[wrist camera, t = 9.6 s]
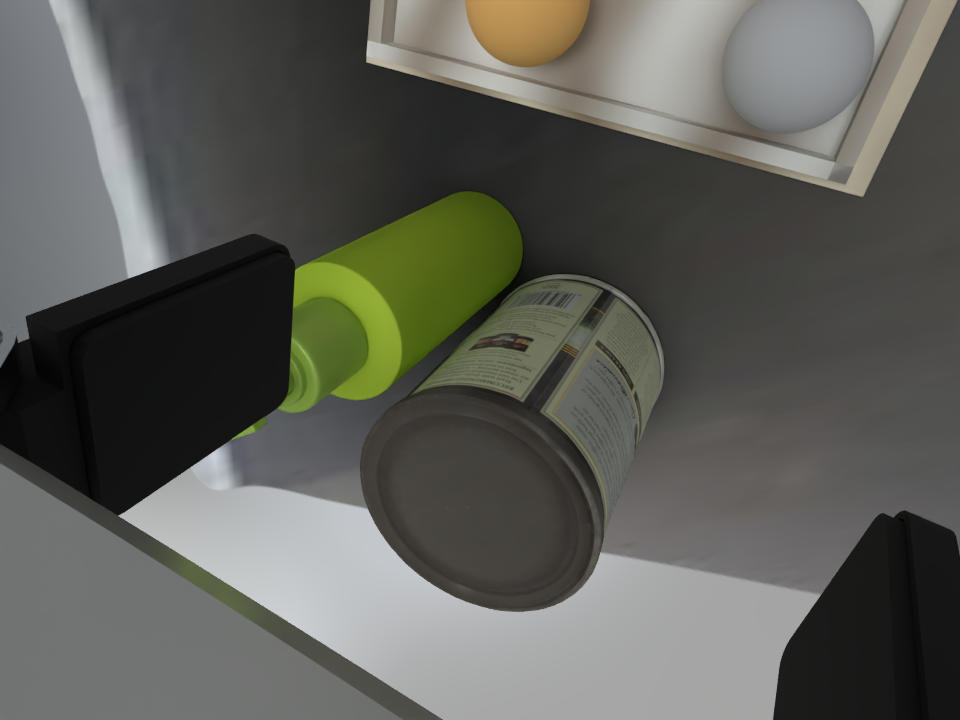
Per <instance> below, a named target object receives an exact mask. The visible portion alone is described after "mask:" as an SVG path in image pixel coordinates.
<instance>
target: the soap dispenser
mask: <svg viewBox="0 0 960 720" xmlns="http://www.w3.org/2000/svg"><path fill="white" fill-rule="evenodd" d="M522 257H523V243H522V237H521V233H520V230H519V228H518V225H517V223H516V221H515V220H514V218H513V217H512V215H511V214H510V212H509V211H508V210H507V209H506V208H505V207H504V206H503V205H502V204H501V203H499V202H498V201H497V200H495V199H493V198H492V197H490V196H488V195H485V194H482V193H478V192H472V191H465V192H458V193H455V194H452V195H450V196H448V197H446V198H443V199H441V200H439V201H437V202H435V203H433V204H431V205H429V206H427V207H425V208H422V209H420V210H418V211H416V212H414V213H412V214H410V215H408V216H406V217H404V218H401V219H399V220H397V221H395V222H393V223H391V224H389V225H387V226H385V227H383V228H381V229H378V230H376V231H374V232H372V233H370V234H368V235H366V236H364V237H362V238H360V239H357V240H355V241H353V242H351V243H349V244H347V245H345V246H343V247H341V248H339V249H336V250H334V251H332V252H330V253H328V254H326V255H324V256H322V257H320V258H318V259H316V260H313V261H311V262H309V263H307V264H305V265H303V266H301V267H299V268H298V269H296V270H295V281H294V300H293V319H292V338H291V357H290V376H289V390H288V394H287V396H286V398H285V400H284V402H283V403H282V404H281V405H280V406H279V407H278V408H277V409H279V410H282V411H286V412H291V413H299V412H303V411H306V410H308V409H310V408H311V407H313V406H314V405H315V404H317V403H318V402H319V401H321V400H322V399H323V398H325V397H326V396H327V395H329V394H333V395H335V396H338V397H341V398H345V399H351V400H364V399H369V398H372V397H375V396H377V395H379V394H381V393H383V392H384V391H385V390H387V389H388V388H389V387H390V386H391V385H393V384H394V383H395V382H396V381H397V380H398V379H400V378H401V377H402V376H403V375H404V374H405V373H407V372H408V371H409V370H410V369H411V368H412V367H414V366H415V365H416V364H417V363H418V362H419V361H421V360H422V359H423V358H424V357H425V356H426V355H428V354H429V353H430V352H431V351H432V350H433V349H435V348H436V347H437V346H438V345H439V344H440V343H442V342H443V341H444V340H445V339H446V338H447V337H448V336H450V335H451V334H452V333H453V332H454V331H455V330H457V329H458V328H459V327H460V326H461V325H462V324H464V323H465V322H466V321H467V320H468V319H469V318H471V317H472V316H473V315H474V314H475V313H476V312H478V311H479V310H480V309H481V308H482V307H483V306H485V305H486V304H487V303H488V302H489V301H490V300H492V299H493V298H494V297H495V296H496V295H497V294H499V293H500V292H501V291H502V290H503V289H504V288H506V287H507V286H508V285H509V284H510V283H511V282H512V281H513V279H514V278H515V277H516V275H517V273H518V271H519V269H520V266H521V262H522ZM266 424H267V421H266V419H265V417H264V418H262V419H261V420H259V421H258V422H256V423H255V424H253V425H252V426H250V427H249V428H247V429H246V430H244V431H243V432H242V433H240V434H239V435H237V436H236V437H234V438H233V439H236V438H239V437H242V436H245V435H247V434H250V433H253V432H256V431H257V430H259V429H260V428H261V427H263V426H264V425H266ZM233 439H231V440H233Z"/></svg>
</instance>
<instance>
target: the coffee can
mask: <svg viewBox="0 0 960 720" xmlns="http://www.w3.org/2000/svg"><path fill="white" fill-rule="evenodd" d="M663 378H664V357H663V350H662V347H661V344H660V340H659V338H658V335H657V333H656V331H655V329H654V327H653V326H652V324H651V321H650V319H649V318H648V317H647V316H646V315H645V314H644V313H643V311H642V310H641V309H640V308H639V306H638V305H637V304H636V303H634V302H633V301H632V300H631V299H630V298H629V297H628V296H627V295H625V294H624V293H622V292H621V291H619V290H618V289H616V288H615V287H613V286H611V285H609V284H607V283H605V282H602V281H600V280H597V279H594V278H591V277H589V276H581V275H574V274H554V275H548V276H543V277H540V278H536V279H534V280H531V281H529V282H527V283H525V284H522V285H521V286H519V287H518V288H516V289H515V290H514V291H513V292H512V293H510V294H509V295H508V296H507V297H506V298H505V299H504V301H503V302H502V303H501V304H500V306H499V307H498V308H497V309H496V310H495V311H494V312H493V313H492V314H491V315H489V316H488V317H487V319H486V320H485V321H484V322H483V323H481V324H480V325H479V326H478V327H477V328H476V329H475V330H474V331H473V332H472V333H471V334H470V335H469V336H468V337H467V338H466V339H465V340H464V341H463V342H462V343H461V344H460V345H459V346H458V347H457V348H456V349H455V350H454V351H453V352H452V353H451V354H450V355H449V356H448V357H446V358H445V359H444V360H443V361H442V362H441V363H440V364H439V365H438V366H437V367H436V368H435V369H434V370H433V371H432V372H431V373H430V374H429V375H428V376H427V377H426V378H425V379H424V380H423V381H422V382H421V383H420V384H419V385H418V386H417V387H416V388H415V389H414V390H413V391H412V392H411V393H410V394H409V395H408V396H407V397H406V398H404V399H402V400H400V401H399V402H397V403H396V404H394V405H393V406H392V407H390V408H389V409H388V410H387V411H386V412H385V413H384V414H383V415H382V416H381V417H380V418H379V419H378V420H377V421H376V422H375V424H374V425H373V426H372V428H371V429H370V431H369V433H368V435H367V437H366V439H365V442H364V445H363V448H362V454H361V460H360V475H361V485H362V490H363V495H364V499H365V502H366V505H367V507H368V510H369V512H370V514H371V516H372V518H373V520H374V522H375V524H376V526H377V528H378V529H379V531H380V532H381V534H382V535H383V537H384V538H385V540H386V541H387V542H388V544H389V545H390V546H391V548H392V549H393V550H394V551H395V552H396V553H397V554H398V556H399V557H400V558H401V559H402V560H403V561H404V562H405V563H406V564H407V565H408V566H409V567H411V568H412V569H413V570H414V571H415V572H417V573H418V574H419V575H420V576H421V577H423V578H424V579H425V580H427V581H428V582H430V583H431V584H433V585H434V586H436V587H438V588H439V589H441V590H443V591H445V592H447V593H449V594H451V595H452V596H454V597H456V598H459V599H462V600H464V601H466V602H469V603H472V604H475V605H478V606H482V607H486V608H489V609H494V610H500V611H512V612H524V611H533V610H540V609H544V608H547V607H551V606H554V605H556V604H558V603H560V602H563V601H564V600H566V599H568V598H569V597H570V596H572V595H573V594H575V593H576V592H577V591H578V590H579V589H580V588H581V587H582V586H583V585H584V584H585V583H586V581H587V580H588V579H589V577H590V576H591V575H592V573H593V571H594V568H595V566H596V564H597V561H598V558H599V555H600V551H601V547H602V543H603V538H604V533H605V530H606V528H607V525H608V523H609V520H610V517H611V515H612V512H613V510H614V507H615V505H616V502H617V499H618V497H619V494H620V491H621V489H622V486H623V483H624V481H625V478H626V475H627V473H628V470H629V467H630V465H631V462H632V460H633V457H634V454H635V452H636V449H637V447H638V444H639V442H640V439H641V437H642V434H643V432H644V429H645V426H646V423H647V421H648V418H649V415H650V413H651V410H652V407H653V406H654V404H655V402H656V401H657V398H658V396H659V394H660V392H661V389H662V385H663Z"/></svg>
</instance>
